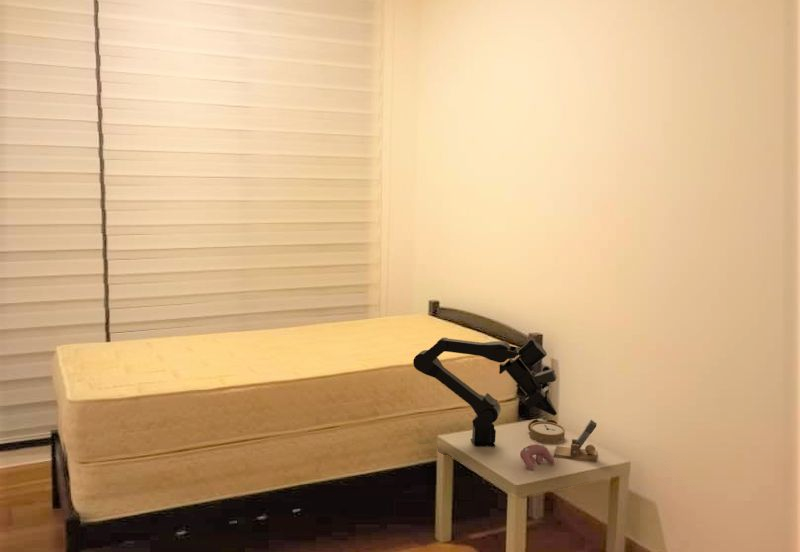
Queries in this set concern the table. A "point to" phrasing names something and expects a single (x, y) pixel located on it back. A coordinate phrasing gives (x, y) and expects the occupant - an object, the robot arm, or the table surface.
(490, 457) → the table surface
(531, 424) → the alarm clock
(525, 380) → the robot arm
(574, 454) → the base
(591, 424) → the lever
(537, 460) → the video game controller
